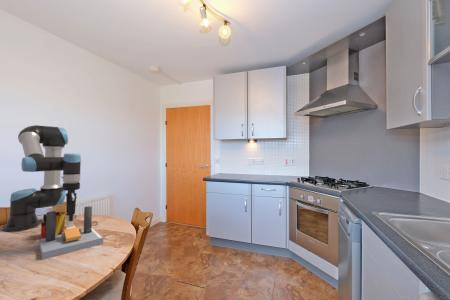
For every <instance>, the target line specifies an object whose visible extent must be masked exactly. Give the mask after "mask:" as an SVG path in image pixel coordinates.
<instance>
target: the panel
mask: <svg viewBox="0 0 450 300" xmlns="http://www.w3.org/2000/svg"><path fill="white" fill-rule="evenodd" d="M78 229H79V231H80V234H81V239H76V240H72V241H68V242H66V239H65V236H64V232H62V235H57V236H55V240H54V241H50V242H46V238H43V239H41V238H39V239H38V247H39V252H40V255H41V258H42V259H41V260H45V259H50V258H54V257H57V256H61V255H64V254H68V253H73V252H77V251H79V250H80V249H81V250H85V249H88V248H91V246H92V247H96V246H100V245H103V244H104V237H103V236H102V235H101V234H100V233H99V232H98V231H97V230H96V229H95V228H93V227H91V232H90V233H86V234H85V233H84V229H82V228H79V227H78ZM95 245H96V246H95ZM87 247H88V248H87ZM84 248H85V249H84ZM81 250H80V251H81Z"/></svg>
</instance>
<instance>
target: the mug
mask: <svg viewBox="0 0 450 300" xmlns="http://www.w3.org/2000/svg"><path fill="white" fill-rule="evenodd" d="M55 212H56V223H55V236H57V235H62V232H63V227H66V226H65V223H66V221H65V219H66V213H65V212H64V211H55ZM46 216H47V213H45V214H43V216H42V217H43V218H42V222H41V224H40V225H41V227H40V231H41V233H40V239H43V238H46Z"/></svg>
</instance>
